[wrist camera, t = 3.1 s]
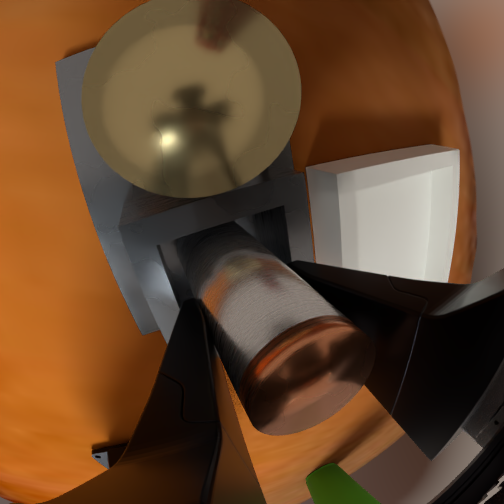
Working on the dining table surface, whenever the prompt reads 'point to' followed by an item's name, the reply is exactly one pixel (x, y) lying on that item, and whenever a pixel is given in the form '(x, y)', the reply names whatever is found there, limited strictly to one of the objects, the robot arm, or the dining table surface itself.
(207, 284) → the pin
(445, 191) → the tray
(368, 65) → the dining table surface
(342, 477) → the cup
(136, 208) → the plate
